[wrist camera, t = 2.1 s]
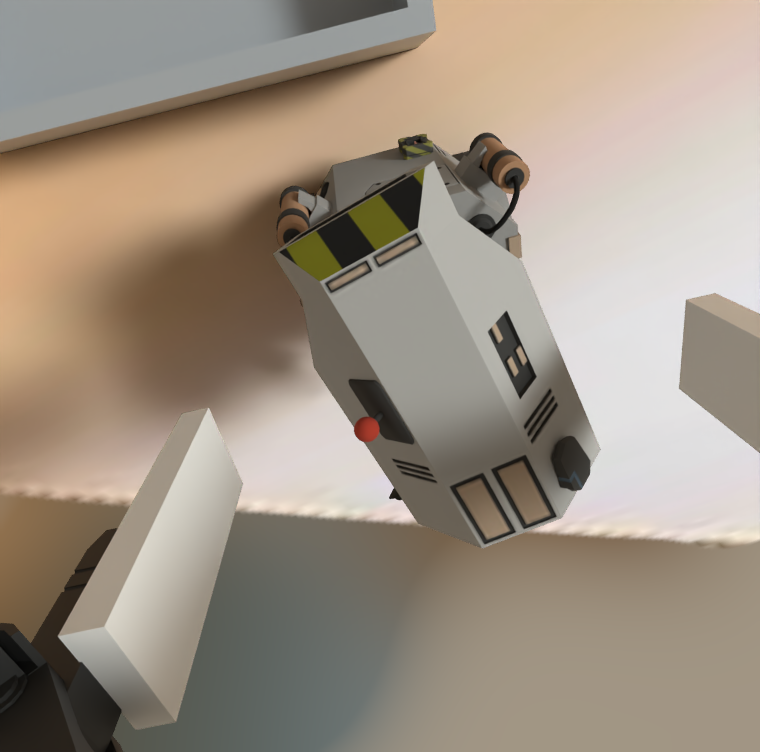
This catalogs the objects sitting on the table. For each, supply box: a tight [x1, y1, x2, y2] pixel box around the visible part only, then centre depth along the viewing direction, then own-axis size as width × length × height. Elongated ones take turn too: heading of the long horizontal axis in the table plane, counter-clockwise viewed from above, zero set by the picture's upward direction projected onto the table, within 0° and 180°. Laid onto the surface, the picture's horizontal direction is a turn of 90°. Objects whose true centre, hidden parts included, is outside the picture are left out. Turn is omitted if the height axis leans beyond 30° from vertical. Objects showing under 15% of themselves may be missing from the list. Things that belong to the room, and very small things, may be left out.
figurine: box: [273, 133, 601, 548], centre depth 18 cm, size 9×12×15 cm
